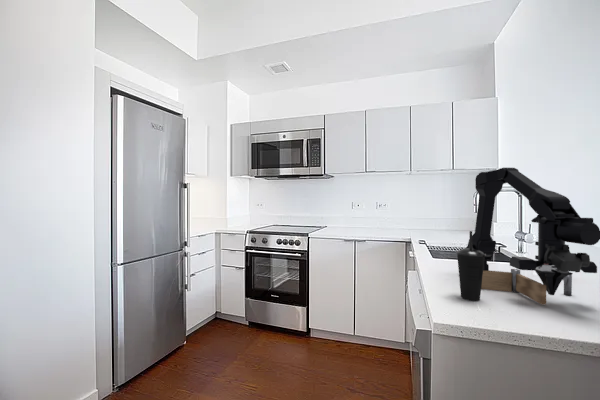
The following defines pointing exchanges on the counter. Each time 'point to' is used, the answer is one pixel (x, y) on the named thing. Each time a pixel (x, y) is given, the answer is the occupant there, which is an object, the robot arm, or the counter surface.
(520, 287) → the gate leaf
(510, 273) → the gate frame
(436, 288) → the counter surface
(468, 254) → the drinking cup
